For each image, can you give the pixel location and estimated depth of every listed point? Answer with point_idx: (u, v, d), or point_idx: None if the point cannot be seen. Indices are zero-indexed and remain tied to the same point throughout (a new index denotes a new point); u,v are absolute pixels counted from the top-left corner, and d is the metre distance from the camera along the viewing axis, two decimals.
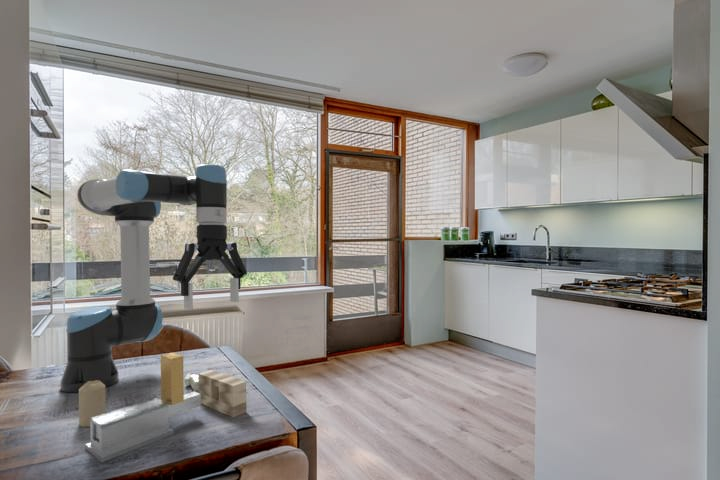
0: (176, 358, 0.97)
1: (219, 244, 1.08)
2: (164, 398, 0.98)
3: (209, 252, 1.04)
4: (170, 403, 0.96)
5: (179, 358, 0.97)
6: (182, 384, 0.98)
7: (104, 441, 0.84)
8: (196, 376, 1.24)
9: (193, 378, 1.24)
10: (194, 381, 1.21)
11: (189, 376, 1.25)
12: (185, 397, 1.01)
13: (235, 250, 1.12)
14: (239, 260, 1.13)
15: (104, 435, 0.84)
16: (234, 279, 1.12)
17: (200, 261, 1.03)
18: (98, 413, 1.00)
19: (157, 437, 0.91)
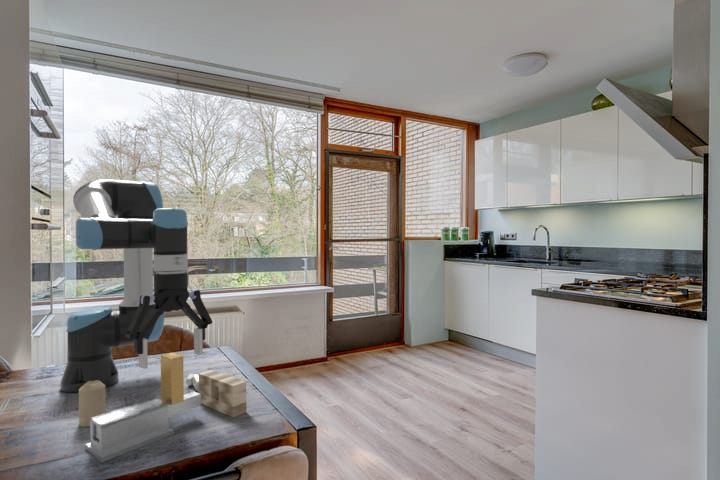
0: (176, 358, 0.97)
1: (179, 294, 0.99)
2: (164, 398, 0.98)
3: (167, 304, 0.96)
4: (170, 403, 0.96)
5: (179, 358, 0.97)
6: (182, 384, 0.98)
7: (104, 441, 0.84)
8: None
9: (195, 378, 1.24)
10: (196, 381, 1.22)
11: (191, 376, 1.25)
12: (185, 397, 1.01)
13: (198, 298, 1.03)
14: (203, 309, 1.04)
15: (104, 435, 0.84)
16: (197, 330, 1.03)
17: (156, 314, 0.94)
18: (98, 413, 1.00)
19: (157, 437, 0.91)
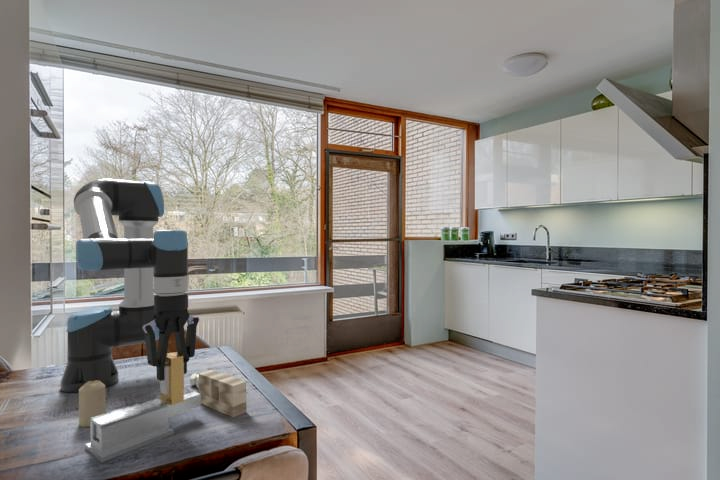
0: (176, 358, 0.97)
1: (181, 311, 0.99)
2: (164, 398, 0.98)
3: (169, 326, 0.96)
4: (170, 403, 0.96)
5: (179, 358, 0.97)
6: (182, 384, 0.98)
7: (104, 441, 0.84)
8: None
9: None
10: None
11: (194, 376, 1.25)
12: (185, 397, 1.01)
13: (194, 326, 1.02)
14: (193, 338, 1.02)
15: (104, 435, 0.84)
16: None
17: (165, 339, 0.96)
18: (98, 413, 1.00)
19: (157, 437, 0.91)
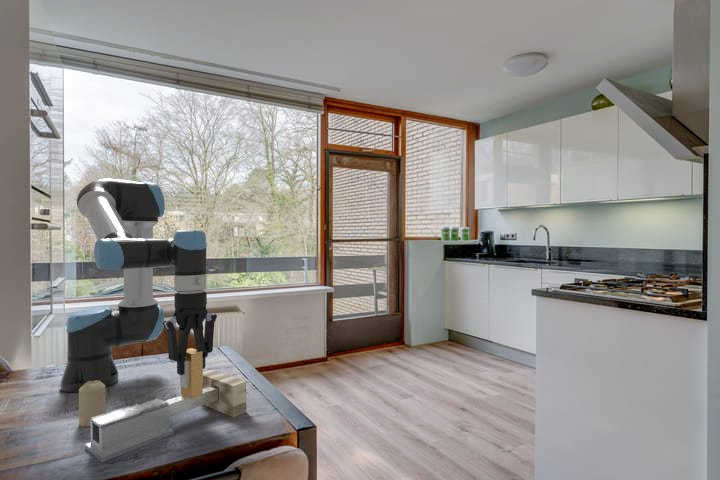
0: (196, 353, 1.01)
1: (200, 308, 1.03)
2: (184, 392, 1.02)
3: (189, 323, 1.00)
4: (190, 396, 1.00)
5: (198, 353, 1.01)
6: (201, 378, 1.02)
7: (104, 441, 0.84)
8: None
9: None
10: None
11: None
12: (204, 391, 1.05)
13: (212, 322, 1.06)
14: (211, 334, 1.06)
15: (104, 435, 0.84)
16: None
17: (185, 335, 1.00)
18: (98, 413, 1.00)
19: (157, 437, 0.91)
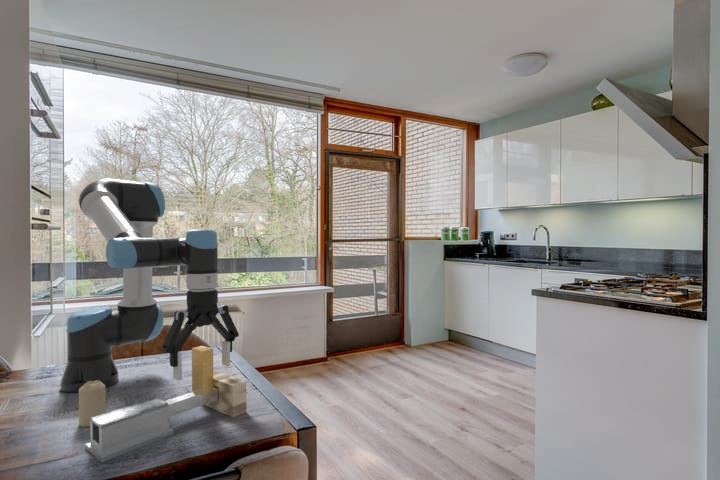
0: (207, 350, 1.03)
1: (210, 309, 1.06)
2: (195, 388, 1.04)
3: (199, 319, 1.02)
4: (201, 393, 1.03)
5: (209, 351, 1.04)
6: (212, 375, 1.04)
7: (104, 441, 0.84)
8: None
9: None
10: None
11: None
12: (214, 387, 1.07)
13: (227, 313, 1.09)
14: (231, 323, 1.10)
15: (104, 435, 0.84)
16: (226, 342, 1.10)
17: (190, 329, 1.01)
18: (98, 413, 1.00)
19: (157, 437, 0.91)
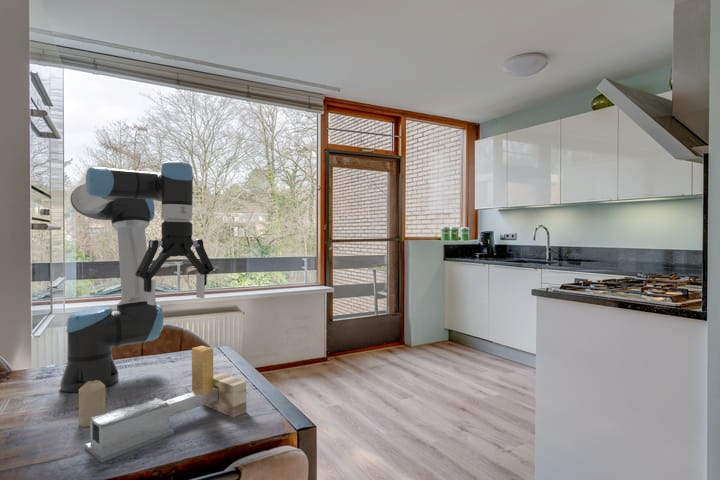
0: (207, 350, 1.03)
1: (184, 241, 1.09)
2: (195, 388, 1.04)
3: (173, 249, 1.05)
4: (201, 393, 1.03)
5: (209, 351, 1.04)
6: (212, 375, 1.04)
7: (104, 441, 0.84)
8: None
9: None
10: None
11: None
12: (214, 387, 1.07)
13: (201, 247, 1.13)
14: (205, 257, 1.14)
15: (104, 435, 0.84)
16: (200, 275, 1.13)
17: (164, 258, 1.04)
18: (98, 413, 1.00)
19: (157, 437, 0.91)
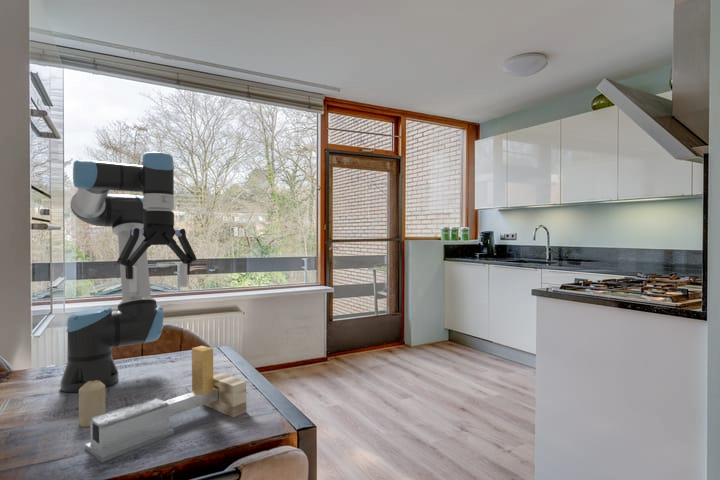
0: (207, 350, 1.03)
1: (166, 230, 1.11)
2: (195, 388, 1.04)
3: (155, 237, 1.08)
4: (201, 393, 1.03)
5: (209, 351, 1.04)
6: (212, 375, 1.04)
7: (104, 441, 0.84)
8: None
9: None
10: None
11: None
12: (214, 387, 1.07)
13: (184, 236, 1.15)
14: (188, 246, 1.16)
15: (104, 435, 0.84)
16: (183, 264, 1.15)
17: (145, 246, 1.06)
18: (98, 413, 1.00)
19: (157, 437, 0.91)
